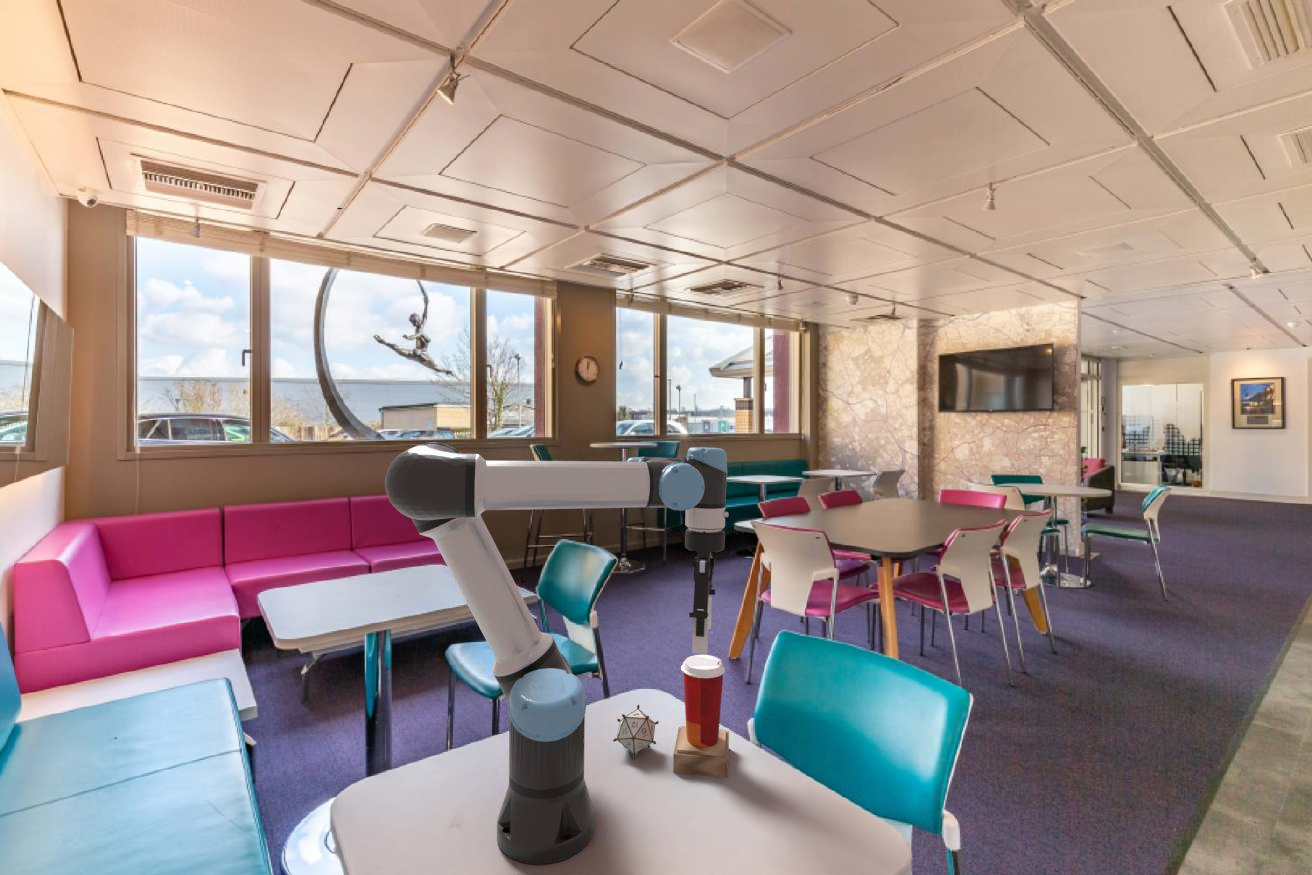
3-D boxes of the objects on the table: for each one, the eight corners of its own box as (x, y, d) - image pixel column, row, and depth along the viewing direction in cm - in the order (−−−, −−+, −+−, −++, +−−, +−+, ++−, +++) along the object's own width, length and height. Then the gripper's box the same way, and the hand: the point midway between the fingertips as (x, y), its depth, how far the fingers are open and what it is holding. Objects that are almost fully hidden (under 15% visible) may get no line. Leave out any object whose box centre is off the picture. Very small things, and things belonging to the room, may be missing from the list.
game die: (633, 764, 121) (637, 710, 126) (665, 762, 116) (669, 707, 122) (601, 756, 115) (607, 700, 121) (634, 754, 111) (639, 696, 116)
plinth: (673, 772, 112) (673, 750, 111) (678, 743, 121) (678, 724, 121) (727, 777, 110) (728, 755, 110) (728, 748, 120) (729, 728, 120)
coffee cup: (725, 730, 119) (726, 655, 118) (721, 753, 111) (722, 672, 110) (683, 726, 121) (684, 651, 120) (676, 747, 112) (677, 668, 112)
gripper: (723, 541, 102) (719, 666, 102) (726, 519, 127) (723, 620, 127) (679, 539, 103) (675, 663, 103) (690, 518, 128) (687, 617, 128)
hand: (702, 639), depth 115 cm, fingers open, 13 cm apart
